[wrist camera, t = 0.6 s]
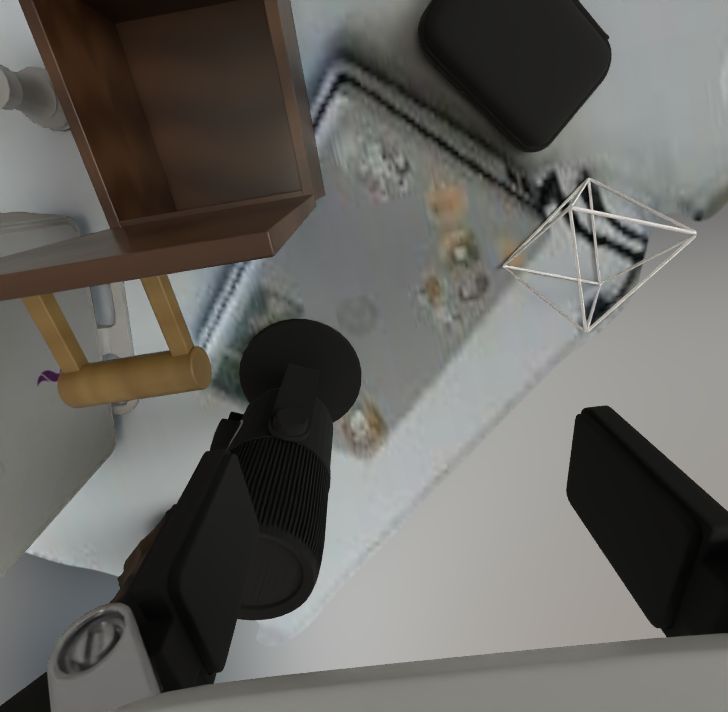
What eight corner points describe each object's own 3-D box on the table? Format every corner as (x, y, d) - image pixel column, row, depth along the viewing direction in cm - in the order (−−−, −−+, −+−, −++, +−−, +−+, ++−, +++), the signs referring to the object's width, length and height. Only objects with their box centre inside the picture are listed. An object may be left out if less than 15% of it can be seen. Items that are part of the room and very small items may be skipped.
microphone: (255, 302, 41) (133, 455, 18) (377, 339, 43) (405, 517, 20) (231, 408, 46) (112, 631, 23) (341, 436, 48) (331, 667, 25)
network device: (145, 438, 47) (17, 598, 29) (70, 432, 47) (-110, 593, 29) (113, 216, 37) (-117, 248, 19) (16, 205, 37) (-318, 229, 18)
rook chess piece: (90, 95, 33) (17, 71, 26) (71, 143, 35) (-4, 132, 27) (37, 56, 32) (-56, 19, 25) (19, 107, 33) (-74, 87, 26)
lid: (-187, 306, 12) (-66, 454, 15) (268, 230, 12) (310, 398, 14) (106, 229, 27) (141, 310, 30) (313, 194, 26) (330, 280, 29)
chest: (107, 16, 31) (-7, -60, 21) (286, -18, 31) (255, -113, 21) (175, 220, 37) (112, 234, 28) (325, 195, 37) (315, 200, 27)
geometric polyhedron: (534, 165, 36) (587, 161, 28) (641, 189, 37) (722, 192, 29) (491, 294, 41) (525, 322, 33) (587, 312, 42) (643, 344, 34)
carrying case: (619, 51, 33) (496, -97, 29) (644, 39, 30) (511, -127, 26) (527, 163, 36) (404, 44, 32) (541, 162, 33) (409, 31, 30)
